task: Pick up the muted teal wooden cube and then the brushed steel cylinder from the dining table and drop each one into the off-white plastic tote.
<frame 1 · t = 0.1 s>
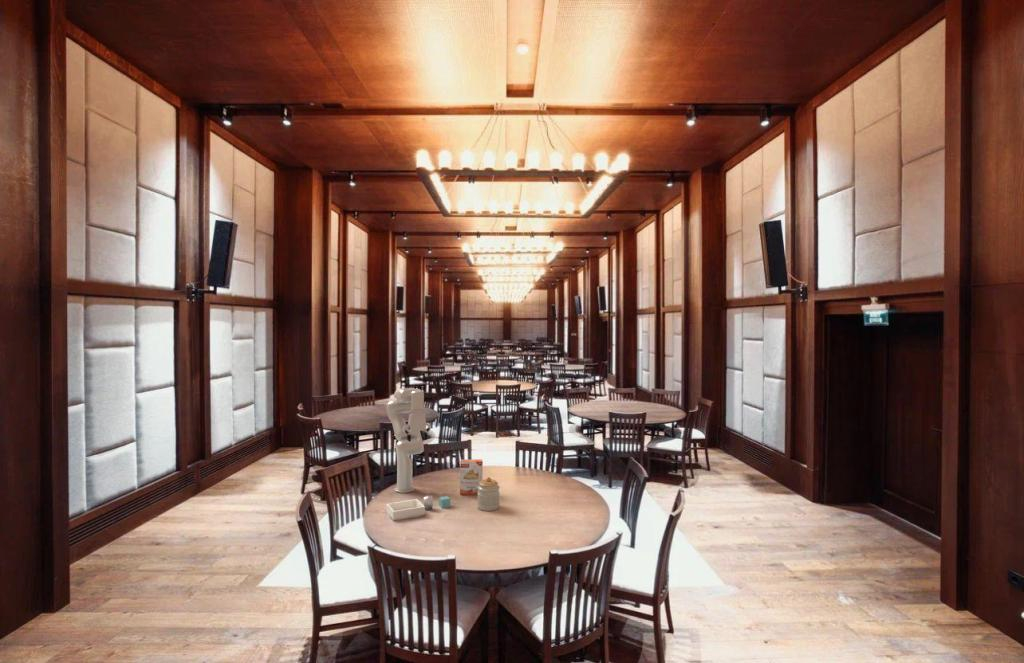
hand: (417, 440, 317), 37 cm above the table, tool pointing down, fingers open, 9 cm apart
cracker box: (471, 493, 333), on the table
steel cylinder: (428, 509, 305), on the table
jar: (488, 507, 309), on the table
tote: (405, 514, 297), on the table
teal cube: (444, 506, 310), on the table
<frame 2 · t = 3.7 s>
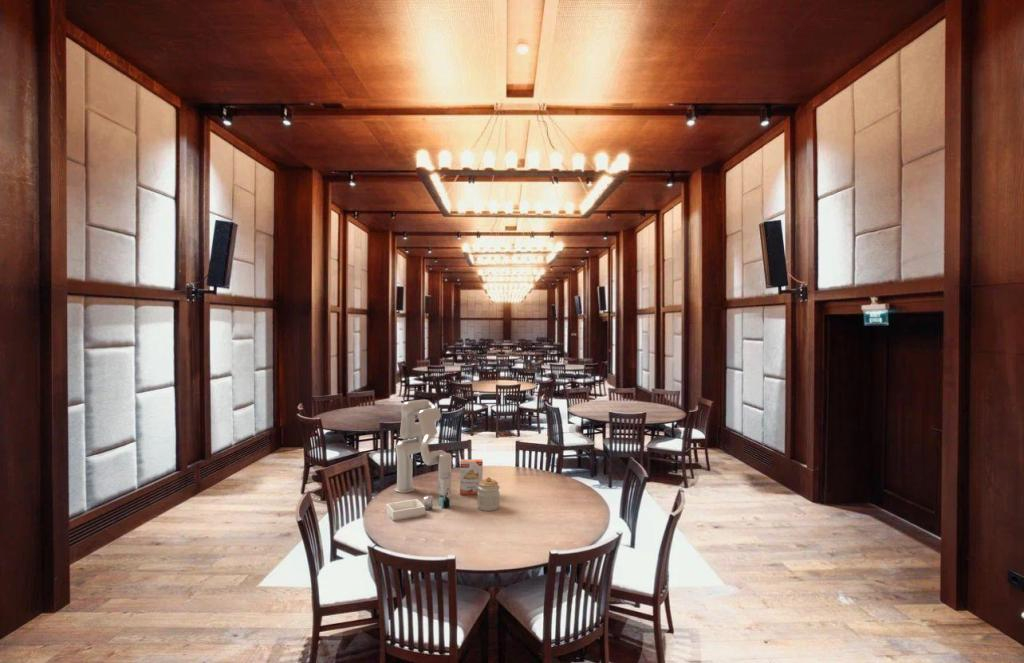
hand: (444, 505, 310), 0 cm above the table, tool pointing down, fingers closed on teal cube, 5 cm apart
teal cube: (444, 506, 310), on the table, touching gripper
everything else where it was.
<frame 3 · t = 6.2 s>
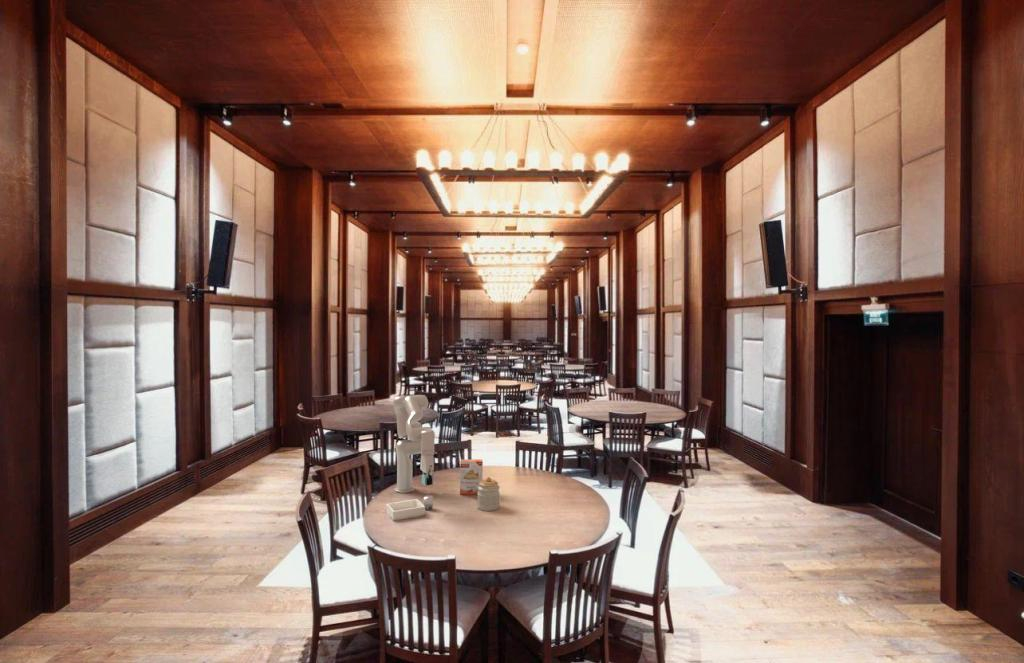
hand: (427, 483, 303), 15 cm above the table, tool pointing down, fingers closed on teal cube, 4 cm apart
teal cube: (427, 484, 303), point 15 cm above the table, touching gripper
everything else where it was.
when the fingers open (5 cm above the table, at t = 9.2 s): teal cube drops 3 cm, resting on tote.
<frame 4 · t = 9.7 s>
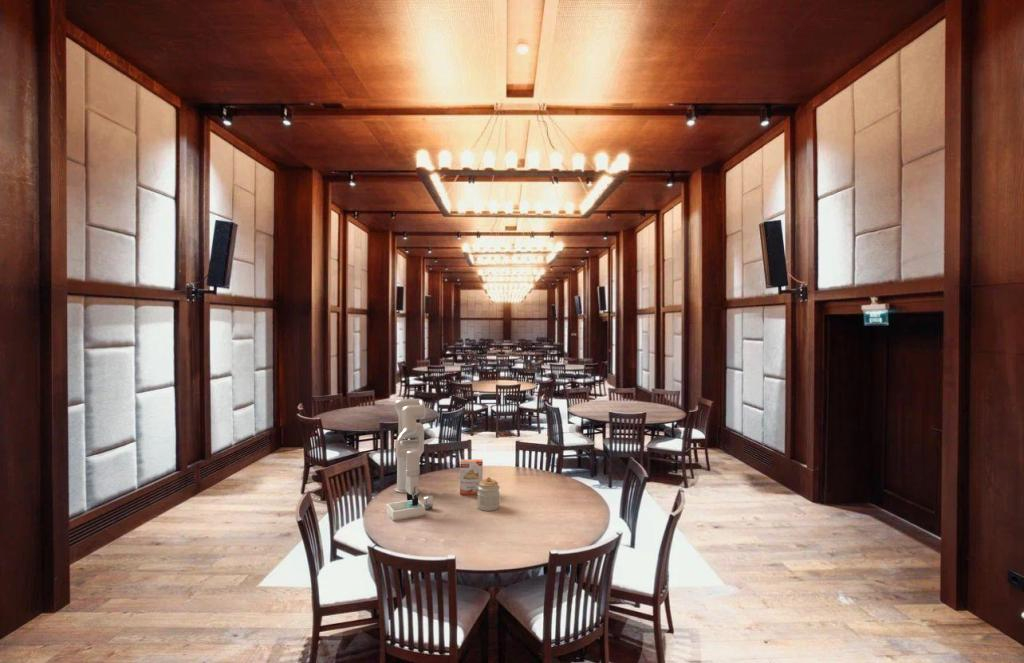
hand: (412, 502, 299), 6 cm above the table, tool pointing down, fingers open, 9 cm apart
teal cube: (412, 511, 299), point 1 cm above the table, touching tote
everything else where it was.
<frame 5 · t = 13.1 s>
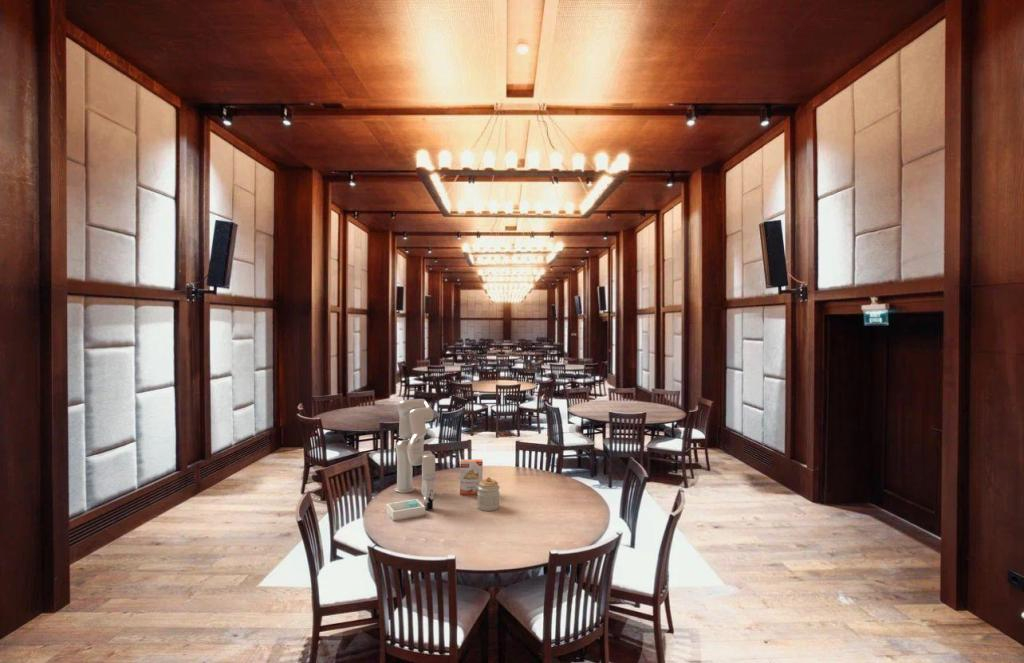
hand: (428, 507, 305), 1 cm above the table, tool pointing down, fingers closed on steel cylinder, 4 cm apart
steel cylinder: (428, 509, 305), on the table, touching gripper
everything else where it was.
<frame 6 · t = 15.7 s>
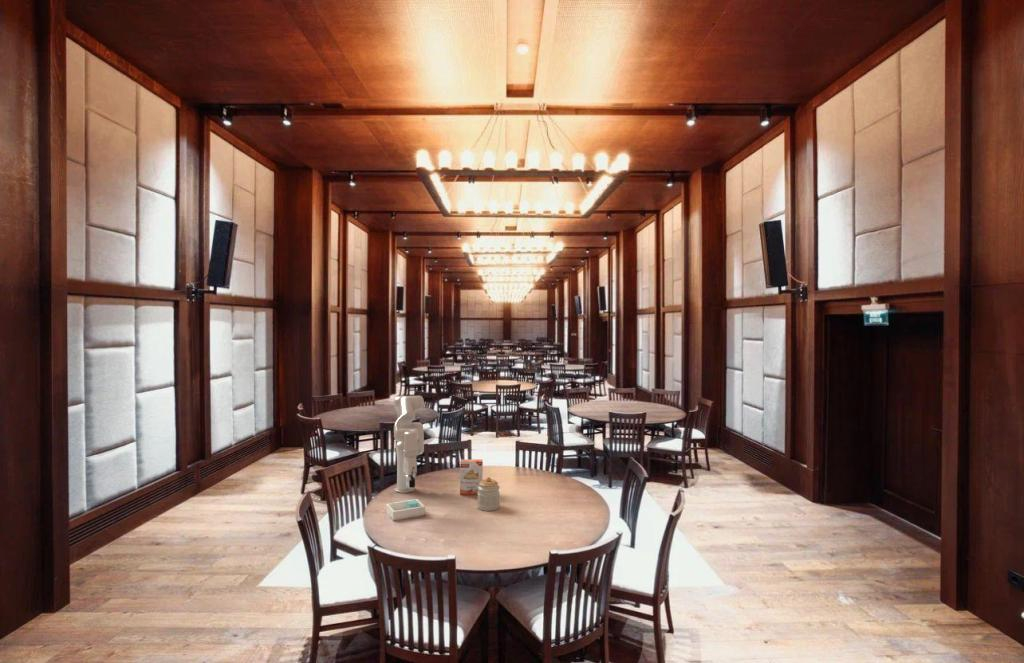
hand: (410, 485, 298), 16 cm above the table, tool pointing down, fingers closed on steel cylinder, 4 cm apart
steel cylinder: (410, 487, 298), point 15 cm above the table, touching gripper
everything else where it was.
when the fingers open (5 cm above the table, at t = 18.6 s): steel cylinder drops 3 cm, resting on tote.
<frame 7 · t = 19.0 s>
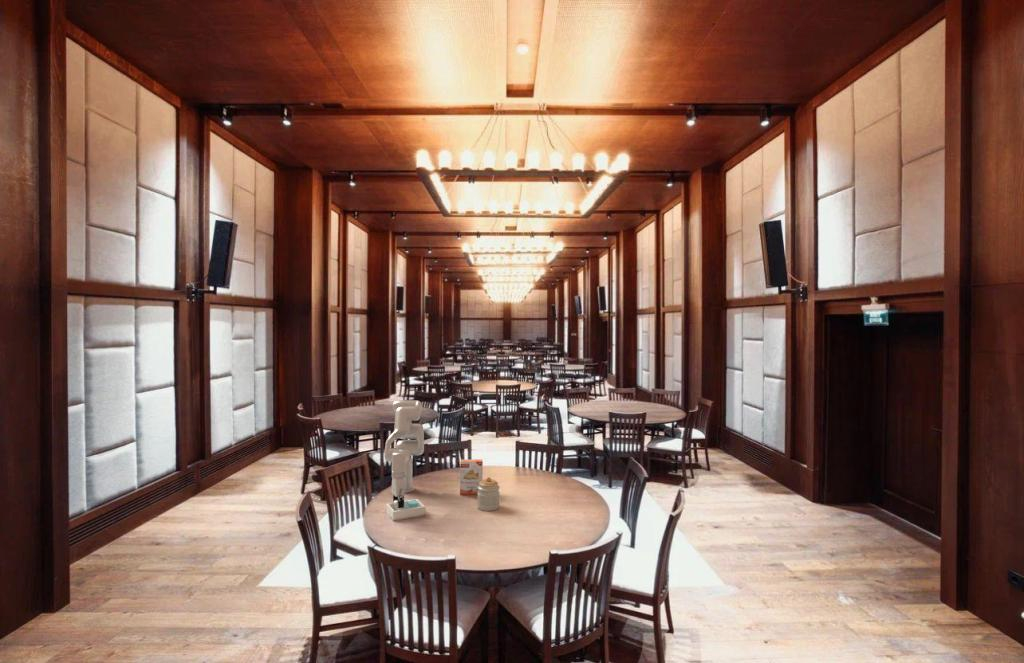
hand: (398, 504, 295), 6 cm above the table, tool pointing down, fingers open, 9 cm apart
steel cylinder: (398, 513, 295), point 1 cm above the table, touching tote
everything else where it was.
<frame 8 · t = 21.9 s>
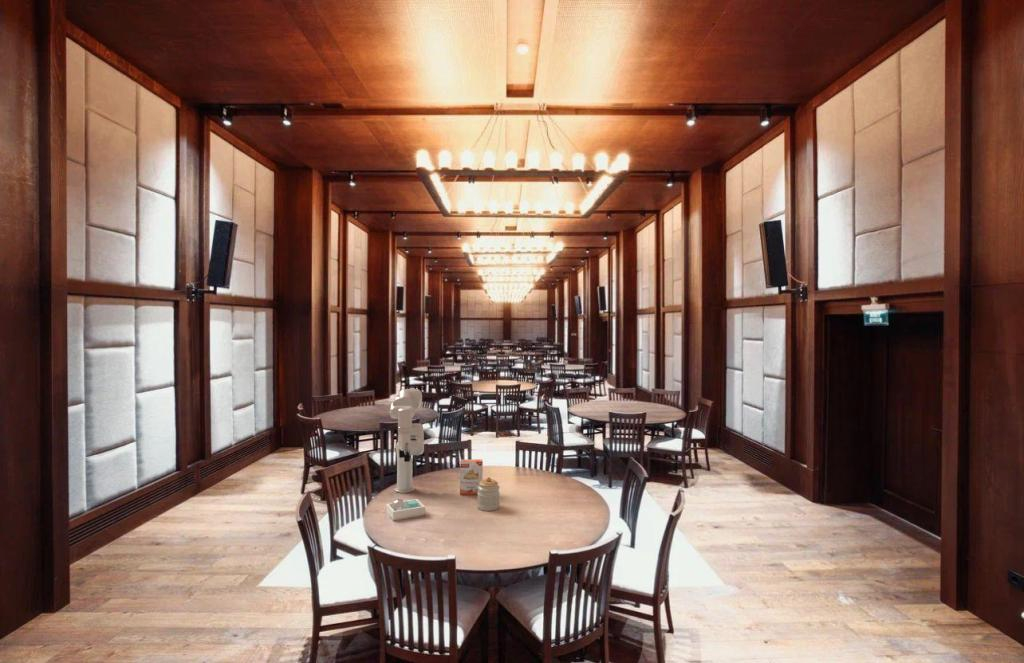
hand: (404, 459, 305), 28 cm above the table, tool pointing down, fingers open, 9 cm apart
nothing on the table moved.
at the end: teal cube inside the target area on the tote (4.0 cm from its centre), point 1.0 cm above the tote's base; steel cylinder inside the target area on the tote (3.9 cm from its centre), point 1.1 cm above the tote's base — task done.
